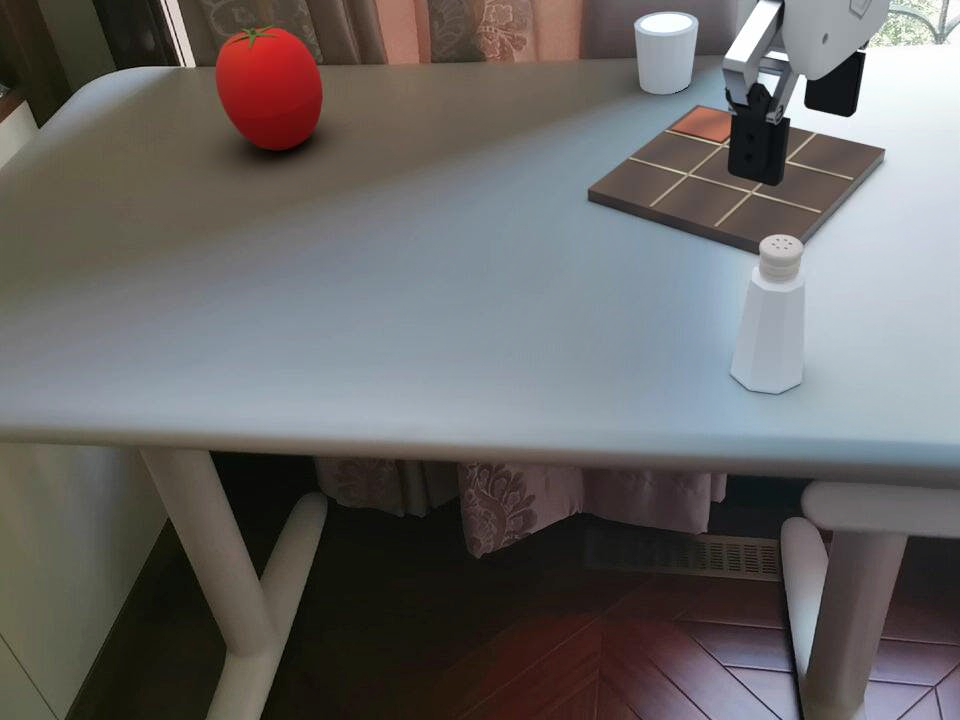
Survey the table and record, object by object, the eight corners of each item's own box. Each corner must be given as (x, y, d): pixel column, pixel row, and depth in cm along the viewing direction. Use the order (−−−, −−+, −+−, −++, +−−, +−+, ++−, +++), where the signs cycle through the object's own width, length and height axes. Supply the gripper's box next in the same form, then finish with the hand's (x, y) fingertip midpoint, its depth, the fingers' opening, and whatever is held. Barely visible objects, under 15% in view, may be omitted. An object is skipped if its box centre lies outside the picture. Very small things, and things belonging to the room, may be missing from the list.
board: (883, 160, 91) (886, 146, 90) (785, 263, 80) (787, 249, 79) (696, 114, 101) (697, 102, 100) (587, 200, 91) (587, 187, 90)
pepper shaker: (783, 405, 67) (801, 277, 60) (714, 376, 70) (723, 251, 63) (818, 363, 70) (840, 236, 63) (751, 337, 73) (764, 213, 66)
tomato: (346, 148, 104) (322, 33, 95) (250, 178, 101) (216, 61, 92) (315, 111, 112) (289, 1, 104) (225, 137, 109) (191, 26, 101)
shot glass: (630, 96, 106) (630, 35, 102) (637, 70, 111) (637, 10, 107) (693, 97, 105) (696, 34, 100) (698, 70, 110) (700, 9, 105)
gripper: (831, -125, 40) (785, 227, 51) (977, -211, 49) (912, 101, 60) (673, -139, 44) (662, 190, 55) (836, -216, 53) (799, 77, 64)
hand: (793, 143), depth 57 cm, fingers open, 9 cm apart
